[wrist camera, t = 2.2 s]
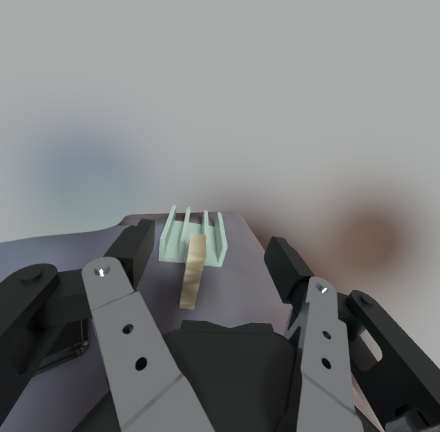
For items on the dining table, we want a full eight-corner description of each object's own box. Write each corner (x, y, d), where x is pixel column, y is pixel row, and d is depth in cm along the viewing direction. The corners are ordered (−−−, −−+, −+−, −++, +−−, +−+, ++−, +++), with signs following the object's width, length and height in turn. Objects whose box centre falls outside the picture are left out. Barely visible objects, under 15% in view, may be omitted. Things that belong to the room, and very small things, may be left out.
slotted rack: (158, 260, 37) (160, 238, 34) (171, 223, 51) (173, 205, 48) (221, 267, 39) (227, 246, 36) (216, 229, 53) (221, 212, 50)
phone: (88, 348, 21) (-176, 465, 12) (89, 352, 21) (-164, 468, 13) (87, 296, 26) (-97, 351, 17) (88, 301, 27) (-91, 357, 18)
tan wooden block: (179, 308, 28) (188, 253, 23) (182, 284, 33) (190, 233, 27) (194, 309, 29) (206, 255, 23) (195, 285, 33) (205, 235, 28)
